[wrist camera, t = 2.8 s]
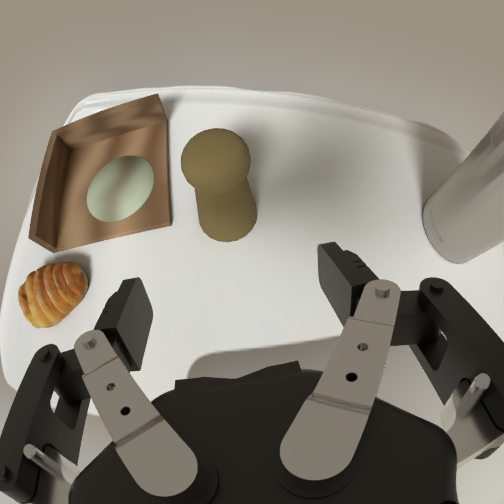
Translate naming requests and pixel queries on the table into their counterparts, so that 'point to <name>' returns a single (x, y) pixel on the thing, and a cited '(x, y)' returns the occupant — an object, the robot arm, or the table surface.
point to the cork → (220, 183)
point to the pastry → (52, 293)
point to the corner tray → (104, 177)
